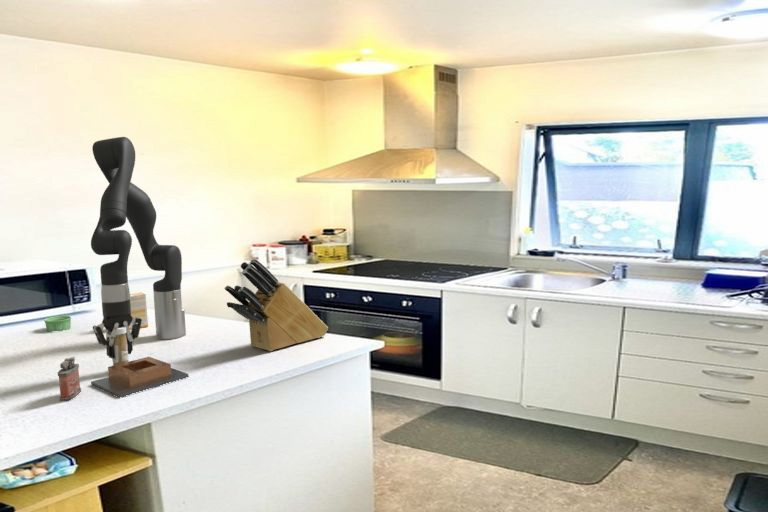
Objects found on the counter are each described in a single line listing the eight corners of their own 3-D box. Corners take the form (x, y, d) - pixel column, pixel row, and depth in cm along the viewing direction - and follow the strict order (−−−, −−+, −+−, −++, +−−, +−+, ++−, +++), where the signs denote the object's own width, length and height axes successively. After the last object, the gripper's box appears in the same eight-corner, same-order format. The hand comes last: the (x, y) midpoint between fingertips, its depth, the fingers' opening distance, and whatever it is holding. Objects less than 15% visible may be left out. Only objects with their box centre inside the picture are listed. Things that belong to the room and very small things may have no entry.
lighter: (71, 390, 155) (68, 354, 153) (84, 390, 155) (81, 354, 154) (56, 402, 147) (53, 364, 145) (70, 401, 147) (67, 363, 146)
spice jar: (131, 371, 170) (127, 327, 168) (114, 374, 167) (110, 329, 165) (128, 367, 173) (125, 324, 172) (111, 370, 171) (108, 326, 169)
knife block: (225, 352, 188) (220, 258, 184) (309, 331, 213) (306, 248, 209) (244, 359, 180) (240, 261, 176) (329, 336, 206) (327, 250, 202)
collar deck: (158, 366, 174) (157, 352, 174) (188, 377, 164) (187, 362, 164) (91, 385, 159) (89, 369, 158) (119, 398, 149) (118, 381, 148)
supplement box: (143, 324, 227) (141, 292, 225) (148, 326, 223) (146, 293, 221) (122, 328, 221) (119, 295, 219) (126, 330, 218) (123, 296, 216)
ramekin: (56, 326, 226) (55, 315, 226) (77, 326, 225) (76, 315, 224) (39, 332, 217) (38, 320, 217) (61, 332, 216) (60, 321, 216)
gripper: (133, 293, 175) (136, 347, 178) (84, 301, 164) (89, 359, 167) (145, 296, 171) (149, 352, 173) (97, 304, 160) (101, 364, 162)
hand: (120, 355), depth 170 cm, fingers closed on spice jar, 4 cm apart
